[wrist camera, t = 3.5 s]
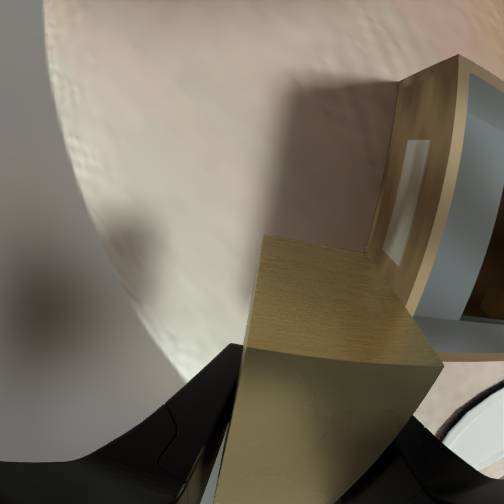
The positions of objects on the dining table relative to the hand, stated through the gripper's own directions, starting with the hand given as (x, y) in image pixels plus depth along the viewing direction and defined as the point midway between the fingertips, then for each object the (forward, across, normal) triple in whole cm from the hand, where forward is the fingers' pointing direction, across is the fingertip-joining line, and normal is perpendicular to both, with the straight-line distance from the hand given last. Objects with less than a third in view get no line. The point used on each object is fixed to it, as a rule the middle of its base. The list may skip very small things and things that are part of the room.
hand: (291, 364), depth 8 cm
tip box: (+11, -11, -5) cm, 16 cm away
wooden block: (+1, 0, 0) cm, 1 cm away
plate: (+11, -37, +20) cm, 44 cm away
